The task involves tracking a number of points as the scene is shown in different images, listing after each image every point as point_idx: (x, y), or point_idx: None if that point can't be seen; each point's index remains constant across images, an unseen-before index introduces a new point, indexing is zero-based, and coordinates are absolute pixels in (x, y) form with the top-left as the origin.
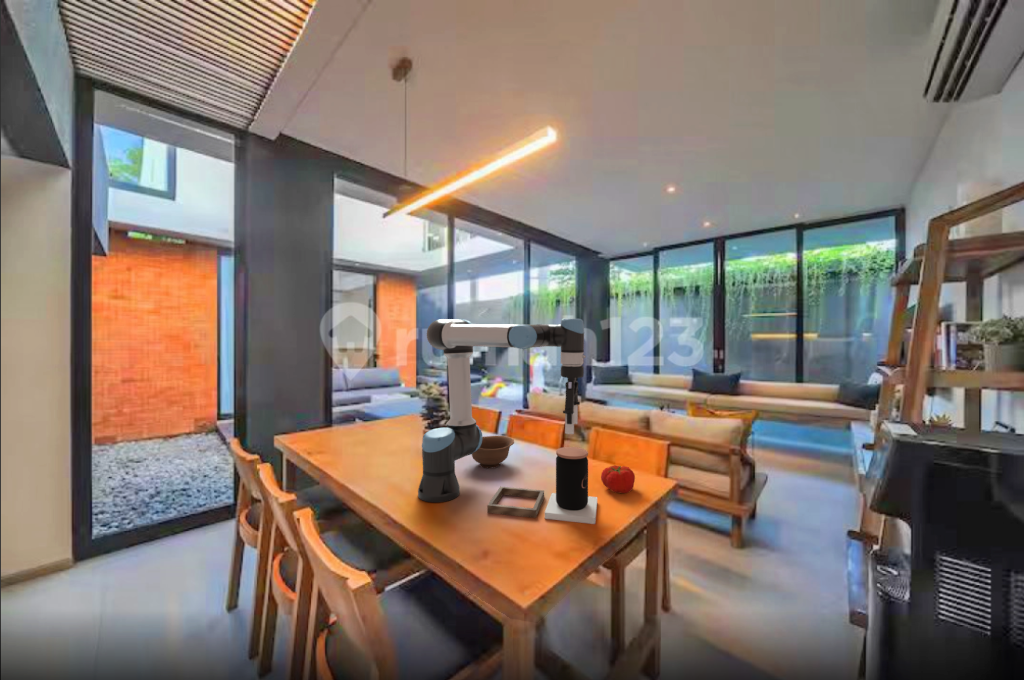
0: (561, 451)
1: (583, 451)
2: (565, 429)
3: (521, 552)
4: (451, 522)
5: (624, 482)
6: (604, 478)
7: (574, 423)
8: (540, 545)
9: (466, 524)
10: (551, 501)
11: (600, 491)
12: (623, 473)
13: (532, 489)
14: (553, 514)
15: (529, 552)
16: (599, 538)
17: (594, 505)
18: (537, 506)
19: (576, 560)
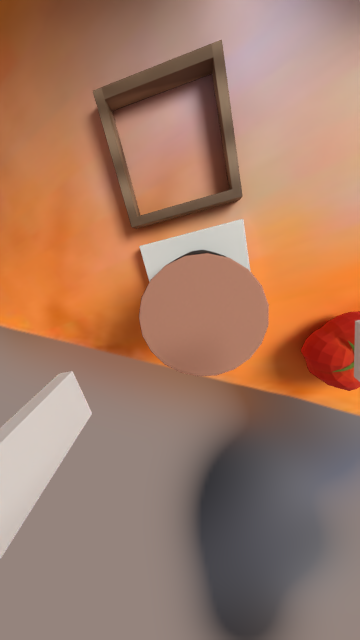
0: (182, 283)
1: (219, 359)
2: (41, 392)
3: (25, 258)
4: (14, 43)
5: (314, 373)
6: (334, 327)
7: (357, 359)
8: (59, 277)
9: (30, 92)
10: (195, 238)
11: (317, 309)
12: (334, 379)
13: (237, 160)
14: (145, 264)
15: (33, 269)
16: (127, 348)
17: None
18: (149, 222)
19: (58, 335)
